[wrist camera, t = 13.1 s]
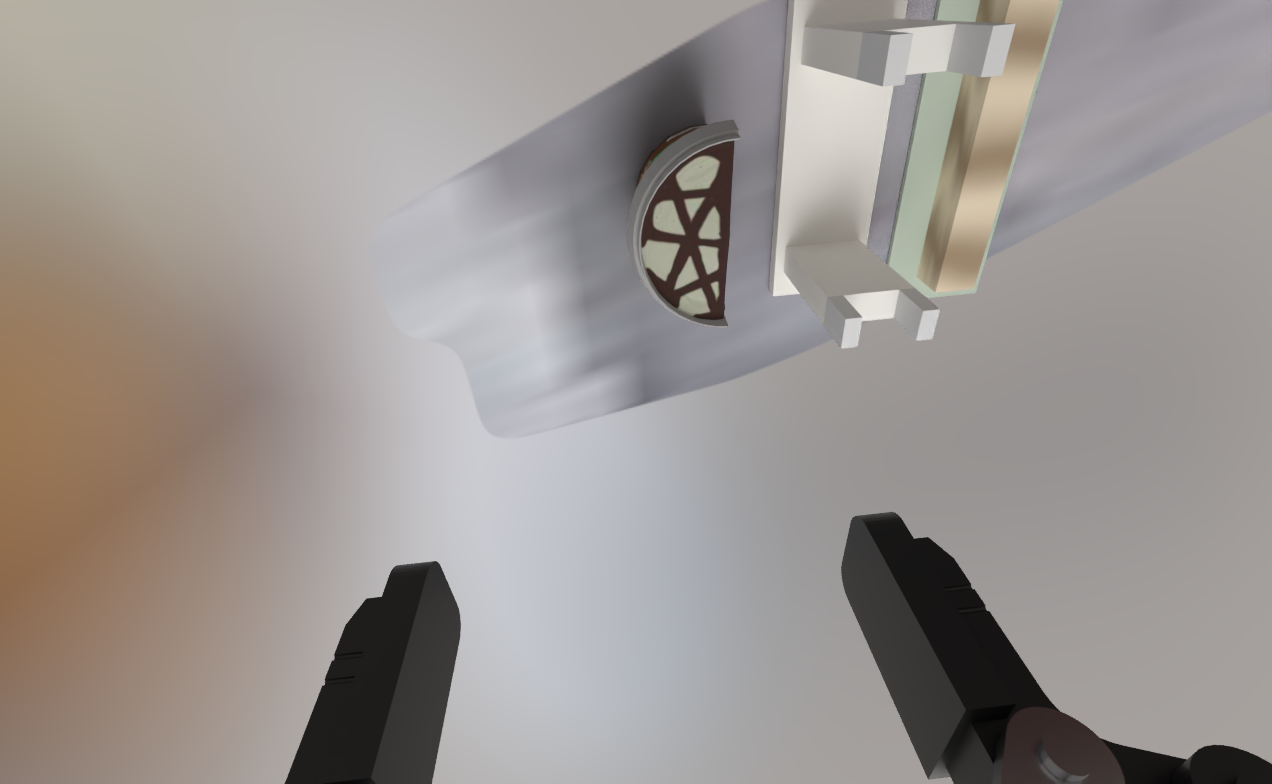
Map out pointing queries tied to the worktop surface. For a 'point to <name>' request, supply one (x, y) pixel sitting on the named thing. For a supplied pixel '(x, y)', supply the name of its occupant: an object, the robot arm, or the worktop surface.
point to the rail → (983, 148)
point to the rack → (854, 151)
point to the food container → (685, 222)
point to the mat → (936, 157)
